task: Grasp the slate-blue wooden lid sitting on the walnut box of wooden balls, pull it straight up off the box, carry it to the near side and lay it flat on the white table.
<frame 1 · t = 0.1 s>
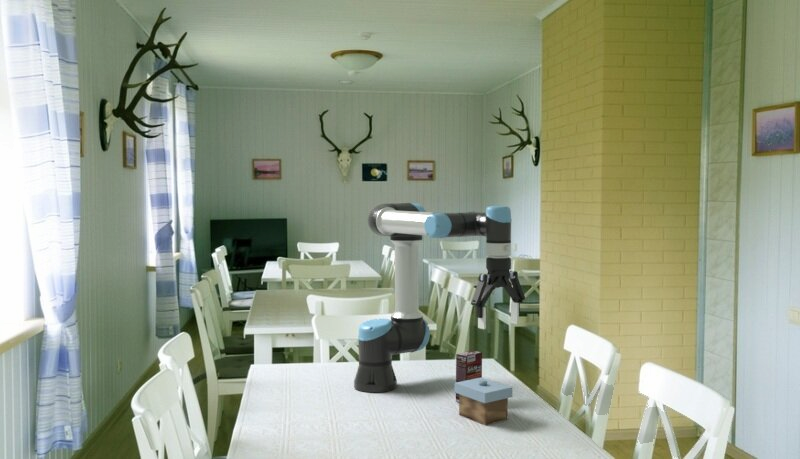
hand: (498, 326, 220), 28 cm above the table, fingers open, 13 cm apart
lid: (483, 397, 219), point 6 cm above the table, touching box
box: (483, 417, 219), on the table
supplement box: (469, 401, 237), on the table
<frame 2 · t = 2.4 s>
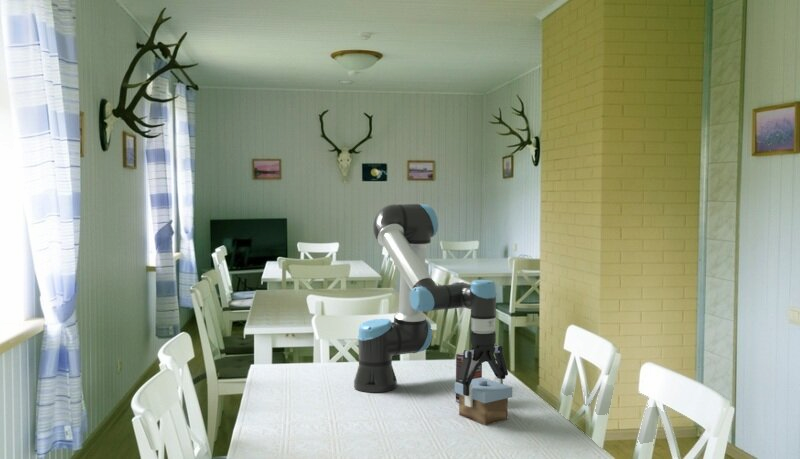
hand: (483, 402, 219), 5 cm above the table, fingers closed on lid, 11 cm apart
lid: (483, 397, 219), point 6 cm above the table, touching box, gripper
everything else where it was.
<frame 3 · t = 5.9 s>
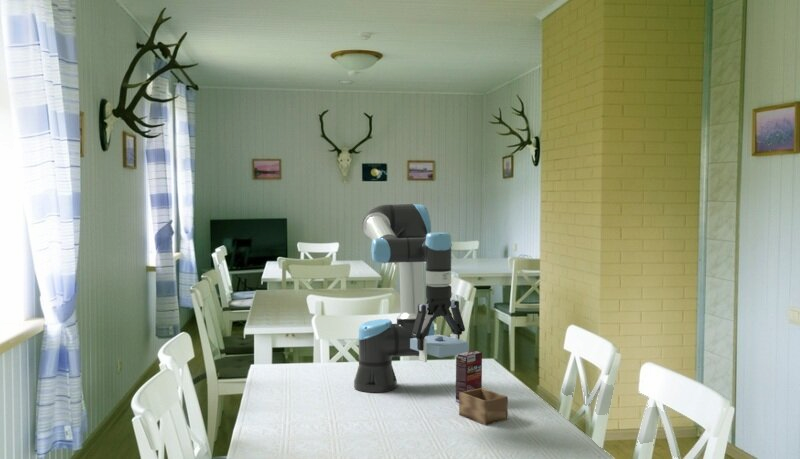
hand: (438, 358, 214), 19 cm above the table, fingers closed on lid, 11 cm apart
lid: (438, 353, 213), point 21 cm above the table, touching gripper
everything else where it was.
when the fingers open (3 cm above the table, at t = 9.5 s): lid drops 4 cm, on the table.
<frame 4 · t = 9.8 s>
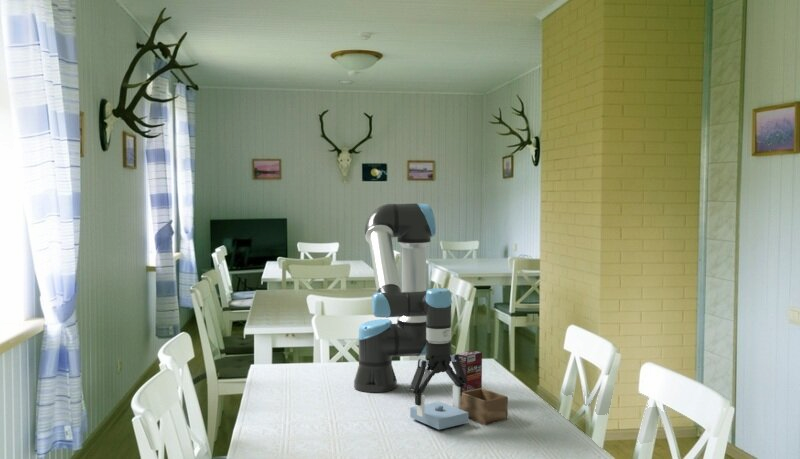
hand: (438, 411, 214), 3 cm above the table, fingers open, 13 cm apart
lid: (439, 423, 215), on the table
everything else where it was.
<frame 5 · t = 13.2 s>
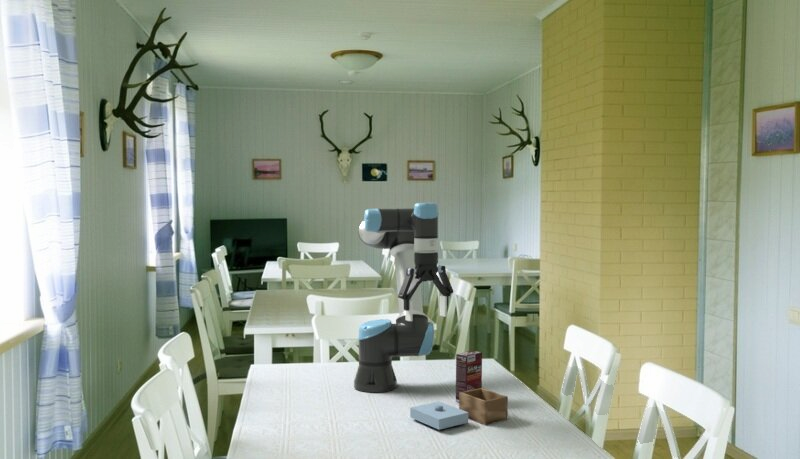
hand: (426, 318, 228), 29 cm above the table, fingers open, 13 cm apart
nothing on the table moved.
at the end: lid inside the target area (1.0 cm from its centre), on the table; lid tilted 0°; the gripper is holding nothing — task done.
